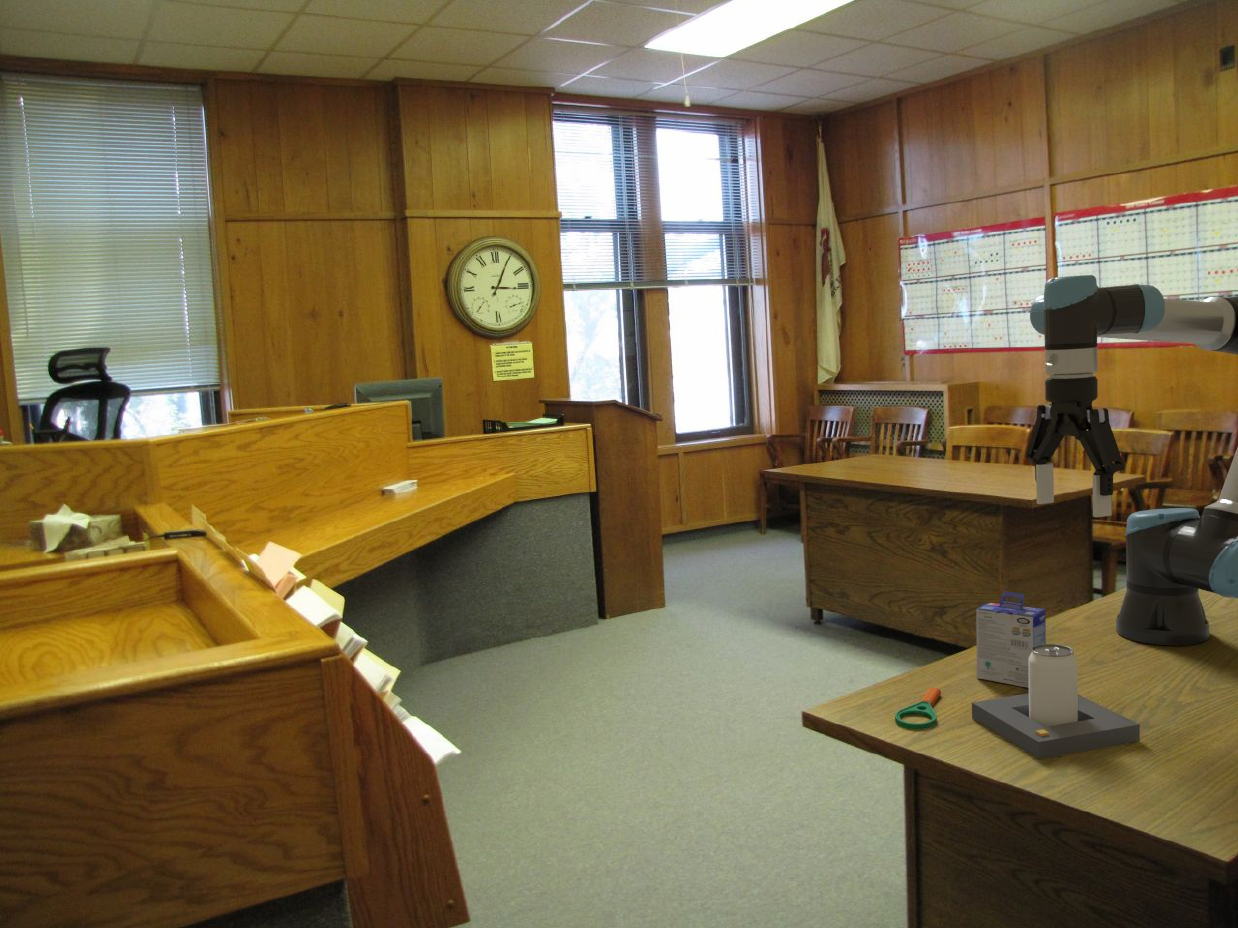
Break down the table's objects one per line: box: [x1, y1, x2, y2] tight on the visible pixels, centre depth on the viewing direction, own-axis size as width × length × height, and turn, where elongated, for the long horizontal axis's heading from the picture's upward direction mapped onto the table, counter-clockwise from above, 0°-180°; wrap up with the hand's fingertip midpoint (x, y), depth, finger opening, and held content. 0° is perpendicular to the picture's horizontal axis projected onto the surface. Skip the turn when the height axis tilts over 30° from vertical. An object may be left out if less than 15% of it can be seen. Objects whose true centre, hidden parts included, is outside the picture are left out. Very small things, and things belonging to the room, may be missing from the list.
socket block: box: [971, 692, 1141, 760], centre depth 147 cm, size 16×16×3 cm
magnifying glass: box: [894, 686, 942, 730], centre depth 158 cm, size 15×6×2 cm, turn 149°
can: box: [1028, 643, 1078, 727], centre depth 147 cm, size 6×6×12 cm
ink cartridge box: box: [975, 591, 1047, 689], centre depth 167 cm, size 10×6×14 cm, turn 46°
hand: (1072, 509), depth 162 cm, fingers open, 13 cm apart
